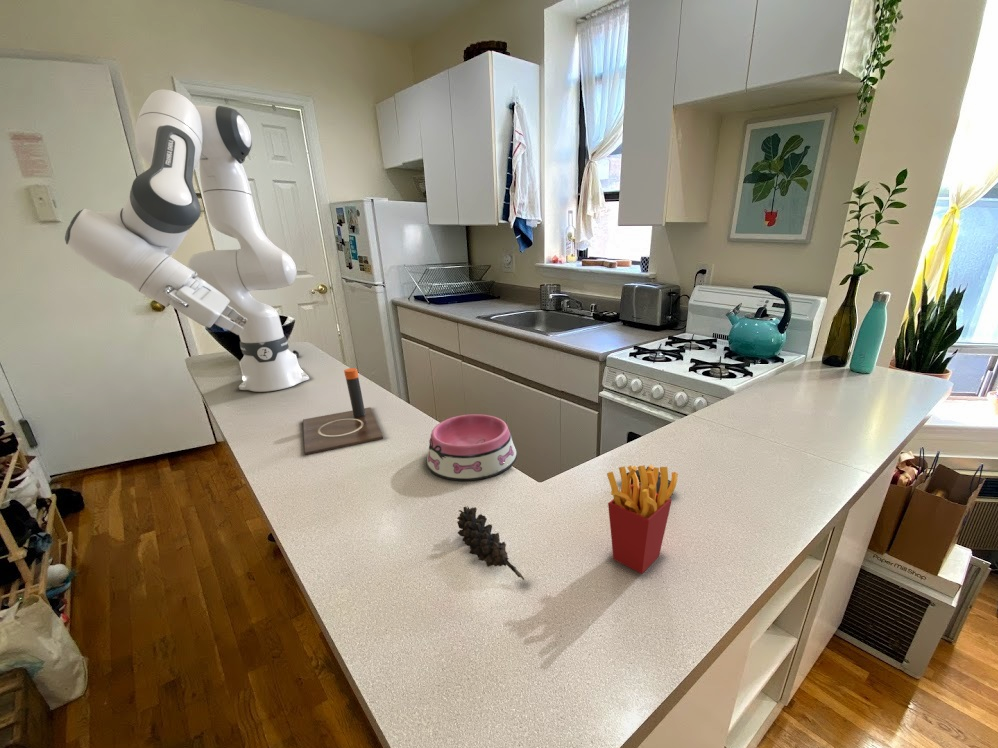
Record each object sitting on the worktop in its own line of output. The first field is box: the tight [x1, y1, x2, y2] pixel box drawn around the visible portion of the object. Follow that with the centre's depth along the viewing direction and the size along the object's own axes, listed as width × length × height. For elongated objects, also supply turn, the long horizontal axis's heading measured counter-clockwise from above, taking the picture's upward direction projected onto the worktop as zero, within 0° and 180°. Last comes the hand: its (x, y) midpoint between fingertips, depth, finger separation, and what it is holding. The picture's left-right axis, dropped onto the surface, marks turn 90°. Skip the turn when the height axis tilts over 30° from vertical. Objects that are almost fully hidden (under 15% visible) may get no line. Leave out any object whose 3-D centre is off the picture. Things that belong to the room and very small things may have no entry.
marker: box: [343, 367, 365, 417], centre depth 115 cm, size 3×3×12 cm
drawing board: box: [302, 406, 384, 456], centre depth 110 cm, size 20×16×1 cm
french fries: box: [606, 464, 678, 575], centre depth 66 cm, size 9×8×15 cm
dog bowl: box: [426, 413, 518, 482], centre depth 95 cm, size 18×19×7 cm
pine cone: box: [456, 505, 525, 581], centre depth 67 cm, size 17×5×5 cm, turn 34°
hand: (243, 327), depth 99 cm, fingers open, 8 cm apart
